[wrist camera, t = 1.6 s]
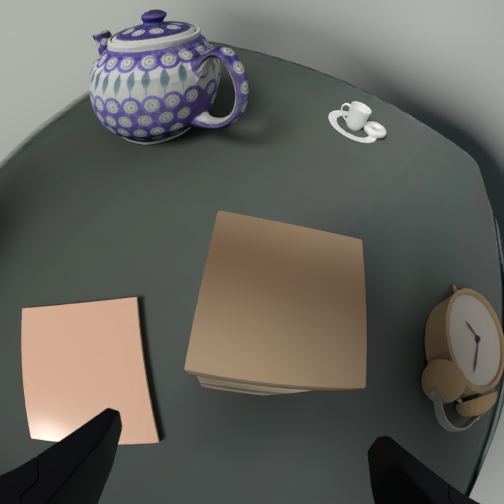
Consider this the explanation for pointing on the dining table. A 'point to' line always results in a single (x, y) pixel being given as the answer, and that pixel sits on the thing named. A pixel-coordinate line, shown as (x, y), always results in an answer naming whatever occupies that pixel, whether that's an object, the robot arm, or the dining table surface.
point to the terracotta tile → (86, 369)
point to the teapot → (161, 80)
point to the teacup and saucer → (358, 122)
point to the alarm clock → (463, 356)
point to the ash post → (279, 310)
